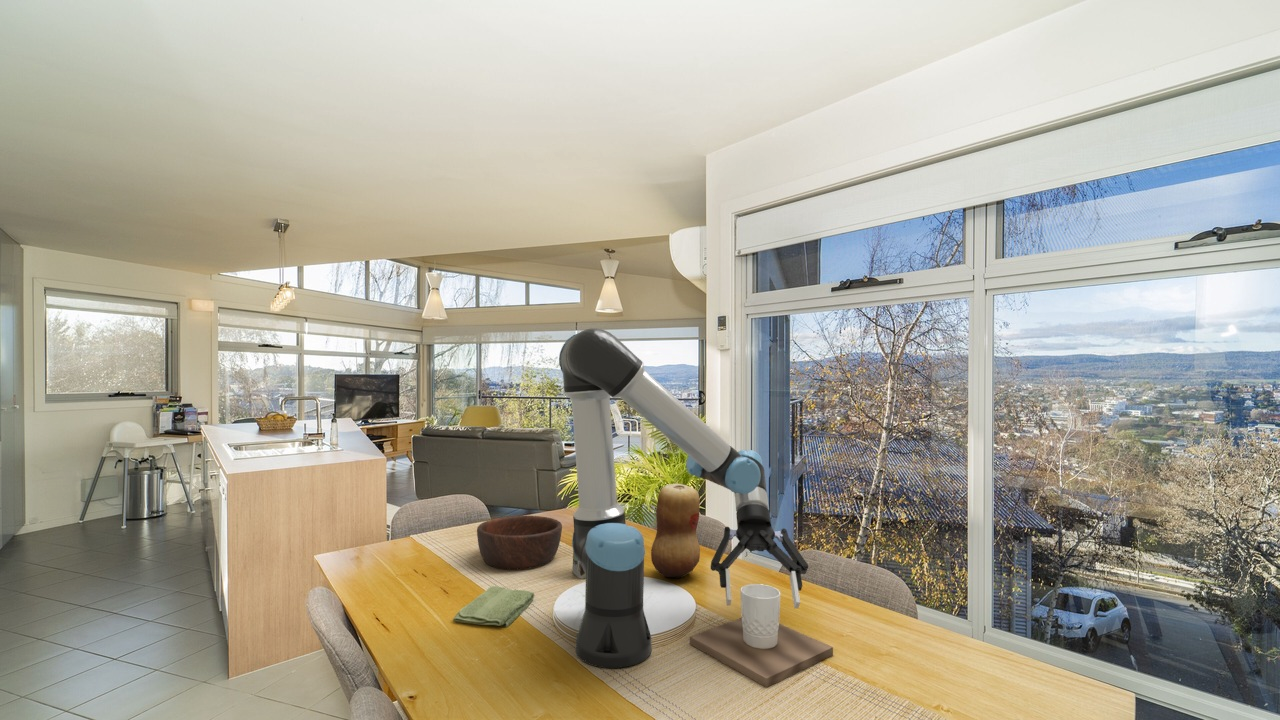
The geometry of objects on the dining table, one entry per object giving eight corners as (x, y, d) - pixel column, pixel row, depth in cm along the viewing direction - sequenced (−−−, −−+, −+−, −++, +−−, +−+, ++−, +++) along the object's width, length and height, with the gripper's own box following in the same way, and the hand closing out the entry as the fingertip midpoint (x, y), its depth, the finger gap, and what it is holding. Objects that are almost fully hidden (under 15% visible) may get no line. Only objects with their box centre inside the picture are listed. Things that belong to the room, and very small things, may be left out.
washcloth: (450, 625, 120) (450, 610, 121) (490, 596, 138) (490, 582, 138) (505, 632, 117) (505, 617, 118) (538, 601, 135) (539, 588, 135)
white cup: (781, 652, 106) (781, 599, 107) (739, 648, 108) (740, 596, 108) (779, 634, 114) (779, 585, 114) (740, 630, 115) (740, 582, 116)
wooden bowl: (553, 574, 153) (554, 537, 153) (464, 573, 153) (465, 535, 153) (566, 548, 178) (567, 515, 178) (489, 546, 178) (490, 514, 178)
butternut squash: (685, 588, 143) (686, 491, 144) (641, 578, 150) (643, 486, 151) (708, 573, 155) (709, 484, 156) (666, 564, 162) (667, 479, 163)
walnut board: (766, 687, 97) (766, 678, 97) (689, 643, 113) (689, 636, 113) (833, 654, 109) (832, 647, 109) (754, 619, 125) (754, 612, 125)
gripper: (804, 521, 128) (822, 614, 113) (697, 518, 130) (699, 609, 114) (810, 503, 123) (829, 598, 108) (698, 500, 125) (701, 593, 109)
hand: (763, 604), depth 111 cm, fingers open, 13 cm apart
